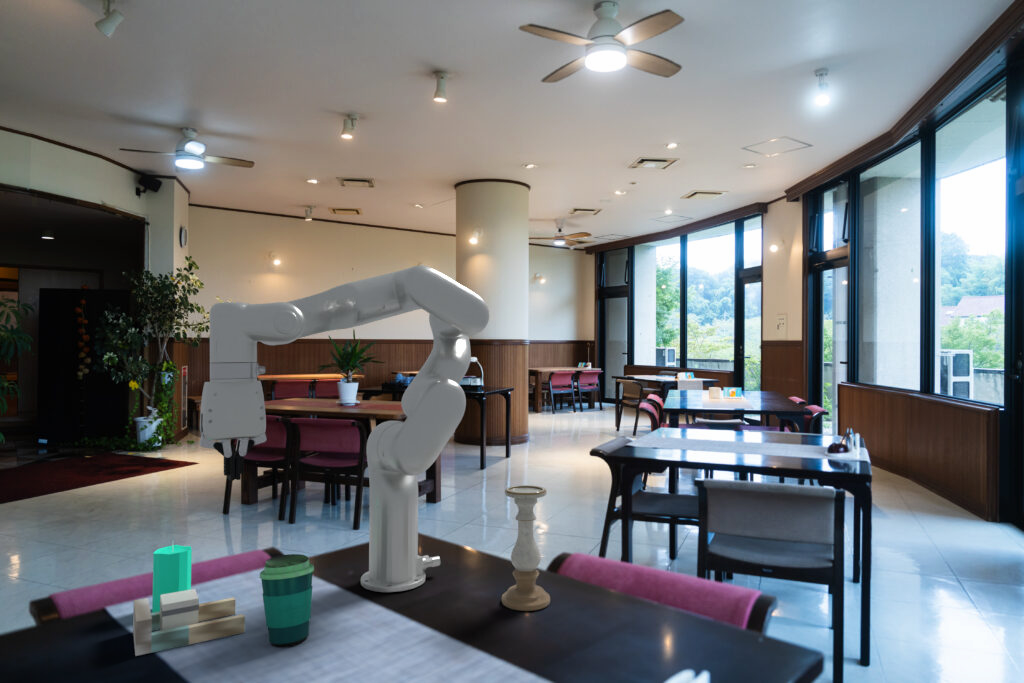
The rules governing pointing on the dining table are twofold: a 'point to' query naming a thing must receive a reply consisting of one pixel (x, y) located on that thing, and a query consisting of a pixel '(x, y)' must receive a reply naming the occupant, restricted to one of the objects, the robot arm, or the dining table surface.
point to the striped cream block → (178, 609)
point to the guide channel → (186, 634)
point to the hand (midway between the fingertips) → (233, 478)
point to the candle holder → (525, 553)
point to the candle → (170, 572)
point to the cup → (287, 598)
